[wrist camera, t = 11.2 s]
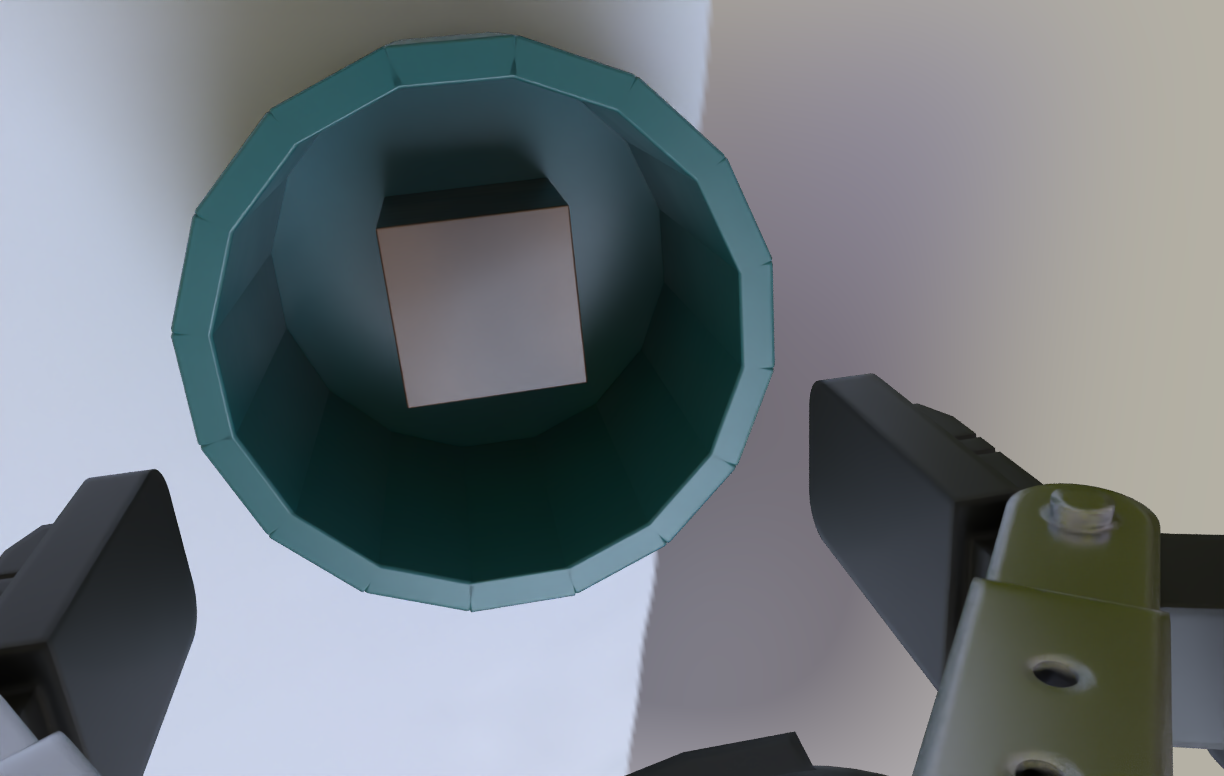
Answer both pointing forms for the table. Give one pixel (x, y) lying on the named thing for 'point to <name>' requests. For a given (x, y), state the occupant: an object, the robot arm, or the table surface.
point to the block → (482, 291)
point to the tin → (492, 426)
